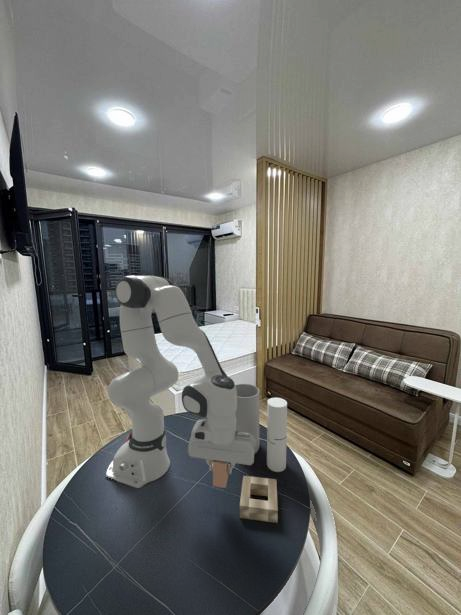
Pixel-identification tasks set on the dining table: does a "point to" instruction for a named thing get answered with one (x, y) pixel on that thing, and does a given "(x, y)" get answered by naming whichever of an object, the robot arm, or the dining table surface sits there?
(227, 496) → the dining table surface
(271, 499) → the socket block
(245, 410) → the cylinder vase
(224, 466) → the peg
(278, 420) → the cylindrical container
